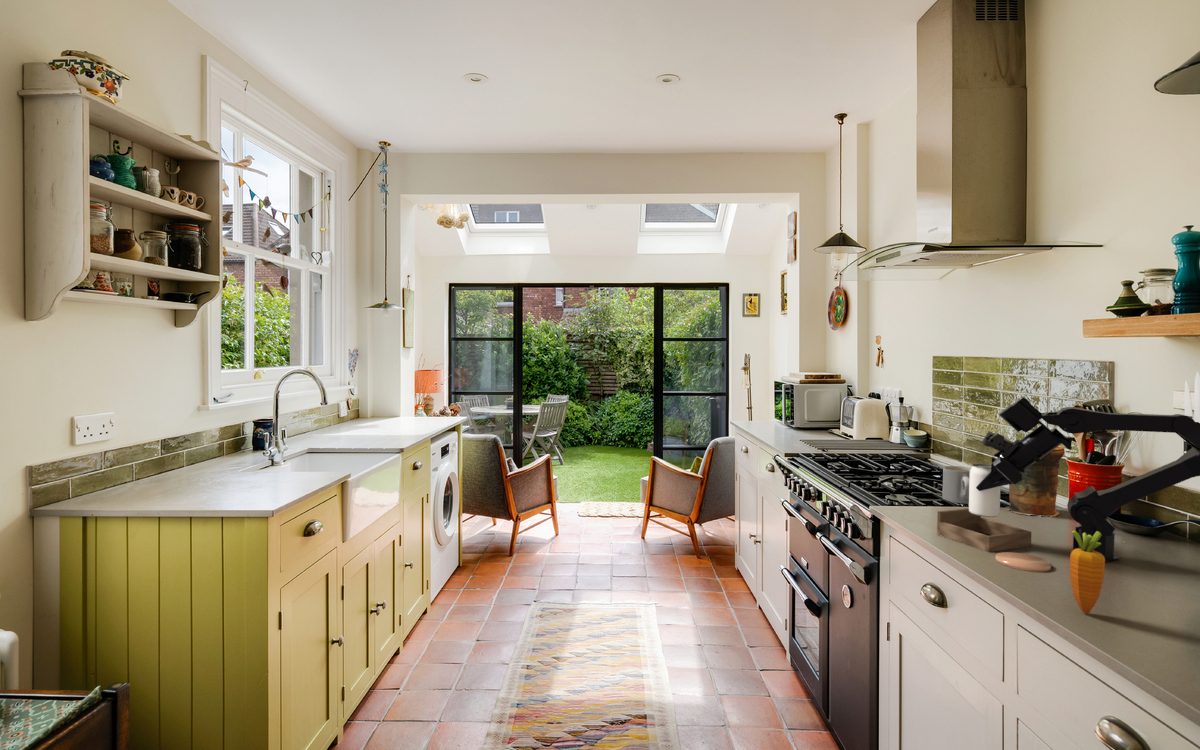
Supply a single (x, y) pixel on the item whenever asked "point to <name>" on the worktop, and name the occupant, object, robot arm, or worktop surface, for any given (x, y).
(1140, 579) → the worktop surface
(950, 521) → the open wooden tray
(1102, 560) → the carrot
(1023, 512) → the vessel
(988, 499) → the can
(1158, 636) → the worktop surface
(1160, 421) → the robot arm
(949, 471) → the coffee mug
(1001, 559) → the saucer
